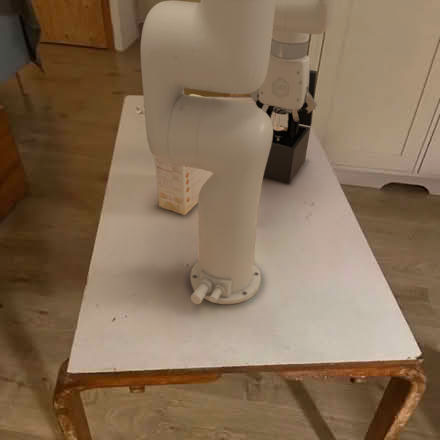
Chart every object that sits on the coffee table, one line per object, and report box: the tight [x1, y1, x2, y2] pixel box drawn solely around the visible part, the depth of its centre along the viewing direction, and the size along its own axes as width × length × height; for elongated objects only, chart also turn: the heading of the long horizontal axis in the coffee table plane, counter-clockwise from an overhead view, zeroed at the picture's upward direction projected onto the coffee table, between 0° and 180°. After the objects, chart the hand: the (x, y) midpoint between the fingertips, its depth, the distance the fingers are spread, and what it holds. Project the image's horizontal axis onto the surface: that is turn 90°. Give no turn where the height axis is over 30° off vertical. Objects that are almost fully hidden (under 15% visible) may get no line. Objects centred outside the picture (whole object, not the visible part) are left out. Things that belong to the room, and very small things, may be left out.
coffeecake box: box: [154, 93, 214, 216], centre depth 94 cm, size 15×7×20 cm, turn 152°
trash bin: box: [263, 124, 311, 185], centre depth 107 cm, size 13×12×9 cm
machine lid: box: [270, 63, 318, 127], centre depth 104 cm, size 13×12×5 cm
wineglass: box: [269, 107, 293, 144], centre depth 105 cm, size 6×6×12 cm
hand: (279, 131), depth 104 cm, fingers closed on wineglass, 5 cm apart
